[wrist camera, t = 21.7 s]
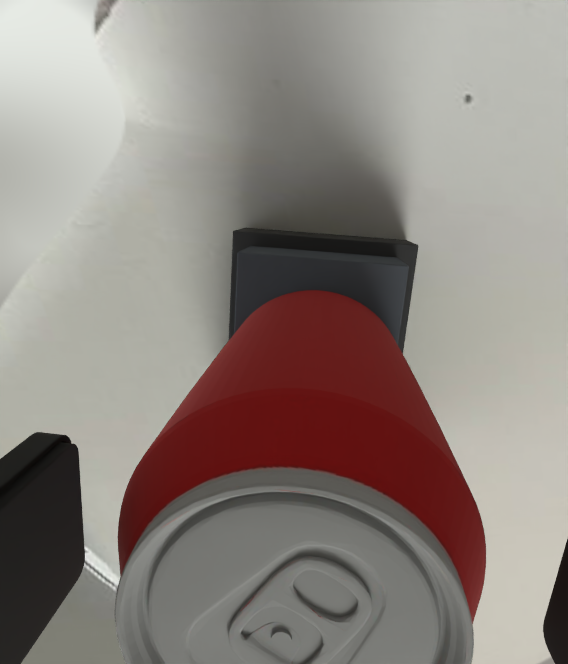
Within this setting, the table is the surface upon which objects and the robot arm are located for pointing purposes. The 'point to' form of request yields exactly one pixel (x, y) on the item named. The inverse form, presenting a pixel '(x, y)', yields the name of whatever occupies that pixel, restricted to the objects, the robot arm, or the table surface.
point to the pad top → (321, 280)
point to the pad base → (326, 244)
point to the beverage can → (301, 507)
